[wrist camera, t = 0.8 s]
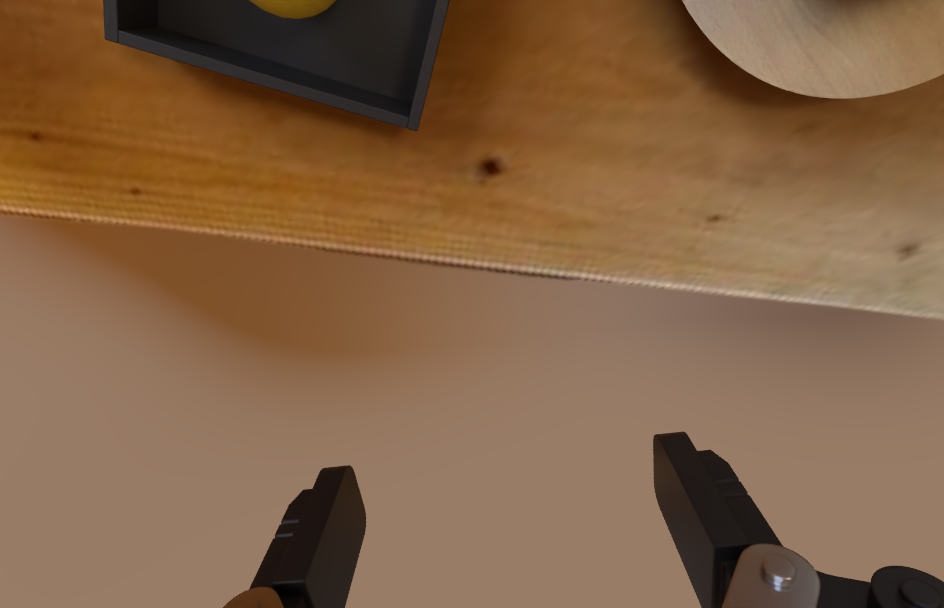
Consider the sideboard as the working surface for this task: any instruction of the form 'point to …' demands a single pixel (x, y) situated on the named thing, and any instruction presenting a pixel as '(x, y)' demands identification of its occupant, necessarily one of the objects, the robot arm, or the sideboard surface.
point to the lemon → (294, 7)
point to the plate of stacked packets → (829, 42)
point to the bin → (299, 48)
